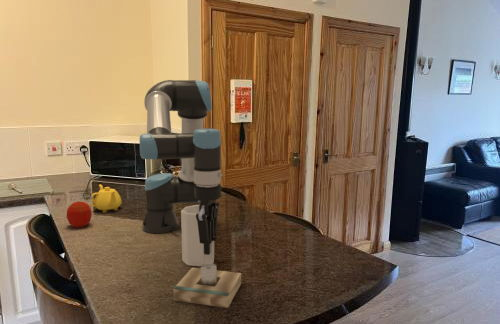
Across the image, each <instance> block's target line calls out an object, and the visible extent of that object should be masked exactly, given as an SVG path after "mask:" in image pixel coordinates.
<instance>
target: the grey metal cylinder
mask: <svg viewBox="0 0 500 324" xmlns="http://www.w3.org/2000/svg"><path fill="white" fill-rule="evenodd" d="M200 268H201V285H206V286H214V287H215V286H216V284H217V264H215V263H213V264H212V265H210V264H203V265H201V266H200Z"/></svg>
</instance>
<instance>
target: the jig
mask: <svg viewBox="0 0 500 324" xmlns="http://www.w3.org/2000/svg"><path fill="white" fill-rule="evenodd" d="M241 284H242V273H241V272H234V271H227V270H226V271H225V270H217V284H216V286H215V287H214V286H206V285H201V267H194V266H191V268H190V269H189V270H188V271H187V273H185V275H184V276H183V277H182V278H181V279H180V280H179V281H178V283H177V284H176V285H174V286H173V289H172V290H173V291H172V292H173V301H176V302H184V303H190V304H197V305H202V306H203V305H204V306H211V307H217V308H226V309H229V307H230V306H231V303H232V301H233V299H234V298H235V295H236V294H237V292H238V290H239V289H240V287H241Z"/></svg>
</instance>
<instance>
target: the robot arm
mask: <svg viewBox="0 0 500 324" xmlns="http://www.w3.org/2000/svg"><path fill="white" fill-rule="evenodd" d="M143 103H144V104H143V105H144V108H145V110H146V111H147V112H146V133H142V134H140V135H139V155H140V157H141V159H143V160H153V161H156V160H173V159H175V160H176V159H178V160H179V159H181V170H180V171H178V173H177V176H174V174H173V173H171V172H168V173H167V172H163V173H156V174H153V175H150V176H149V177H146V179H145V182H144V183H145V184H144V190H145V193H144V194H145V214H144V218H143V221H142V225H141V226H142V230H143V232H145V233H149V234H163V233H164V234H165V233H170V232H173V231H175V230H177V229H178V228H179V220H178V218H177V215H176V212H175V210H174V205H177V204H179V205H180V204H190V203H191V204H197V203H199V204H198V205H199V211H200V213H199V214H196V219H197V223H198V231H199V240H200V243H202V244H203V264H210V265H212V264H215V262H214V261H215V242H217V237H216V236H217V231H218V229H217V227H218V212H219V207H220V204H219V202H217V201H216V200H219V199H220V198H222V185H221V182H222V177H223V173H222V166H221V165H222V164H221V163H222V159H221V157H222V155H221V154H222V140H221V139H222V137H221V131H220V130H219V129H217V128H204V120H205V119H206V118H207V116H208V112H212V110H213V109H212V107H213V106H212V97H211V91H210V85H209V83H208V82H207V81H204V80H198V79H195V80H189V79H187V80H186V79H185V80H184V79H183V80H182V79H181V80H180V79H179V80H174V79H173V80H172V79H167V80H162V81H159V82H158V83H156V84H155V85H153V86H151V87H150V88H149V89H148V91H147V92H146V94H145V97H144V102H143ZM170 112H177V116H178V117H179V118H180V119H181V132H180V133H177V132H176V133H175V132H174V133H172V123H171V113H170ZM213 241H214V242H213Z"/></svg>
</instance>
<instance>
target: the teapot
mask: <svg viewBox="0 0 500 324" xmlns="http://www.w3.org/2000/svg"><path fill="white" fill-rule="evenodd" d="M98 186H99V191H98V192H94V193H92V194H91V201H92V202H91V203H90V207H93V208H94V207H95V208H96V209H98V211H99V210H100V211H102V213H104V214H105V213H108V211H110V210H113V211H119V209H118V208H119V207H120V206H121V205H122V203H123V202H122V197H121V195H120V194H119V192H118V191H117V190H116V189H114V188H111V187H110V186H106V187H104V186H103V185H102V184H98ZM95 195H96V196H95ZM94 196H95V198H94Z"/></svg>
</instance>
